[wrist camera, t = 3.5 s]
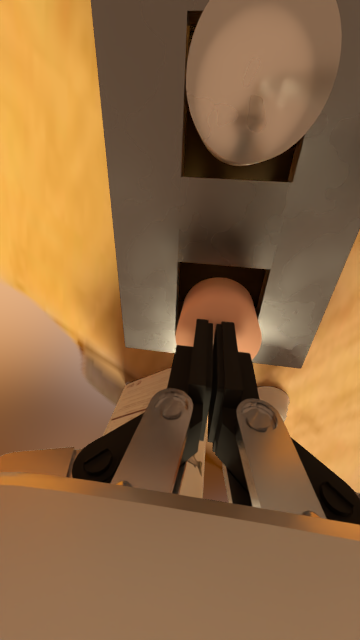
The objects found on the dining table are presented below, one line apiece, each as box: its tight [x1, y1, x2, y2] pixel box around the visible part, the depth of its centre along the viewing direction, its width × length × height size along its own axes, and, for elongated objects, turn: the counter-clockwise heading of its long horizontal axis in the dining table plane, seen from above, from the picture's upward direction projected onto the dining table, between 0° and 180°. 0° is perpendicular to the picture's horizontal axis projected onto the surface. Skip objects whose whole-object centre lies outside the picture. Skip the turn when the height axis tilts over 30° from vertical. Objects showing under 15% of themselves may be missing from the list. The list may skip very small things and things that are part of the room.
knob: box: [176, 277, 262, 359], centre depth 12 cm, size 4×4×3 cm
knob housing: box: [91, 0, 360, 368], centre depth 12 cm, size 12×26×6 cm, turn 177°
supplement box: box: [103, 368, 207, 499], centre depth 22 cm, size 7×7×13 cm
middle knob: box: [186, 0, 342, 166], centre depth 8 cm, size 4×4×3 cm
